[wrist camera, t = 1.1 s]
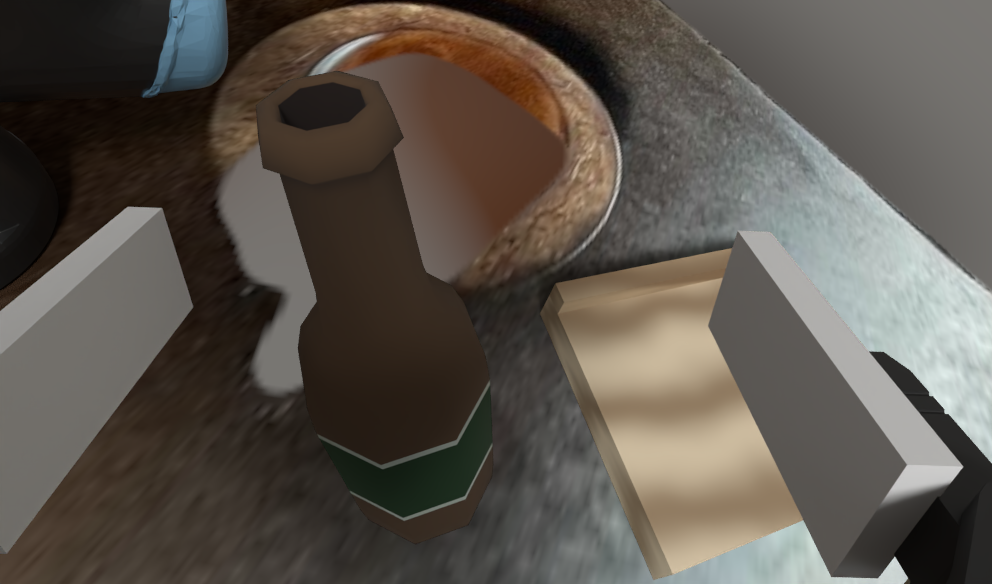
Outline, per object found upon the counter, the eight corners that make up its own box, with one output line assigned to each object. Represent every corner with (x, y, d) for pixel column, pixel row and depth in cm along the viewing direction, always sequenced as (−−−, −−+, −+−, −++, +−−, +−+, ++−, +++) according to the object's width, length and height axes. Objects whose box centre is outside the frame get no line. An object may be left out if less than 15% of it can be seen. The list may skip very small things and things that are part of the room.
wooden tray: (540, 313, 41) (555, 283, 38) (738, 270, 47) (766, 241, 44) (653, 579, 33) (685, 571, 29) (876, 487, 39) (924, 470, 35)
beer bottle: (489, 552, 30) (464, 213, 11) (342, 544, 30) (86, 202, 12) (497, 417, 35) (488, 25, 16) (371, 411, 35) (221, 22, 17)
